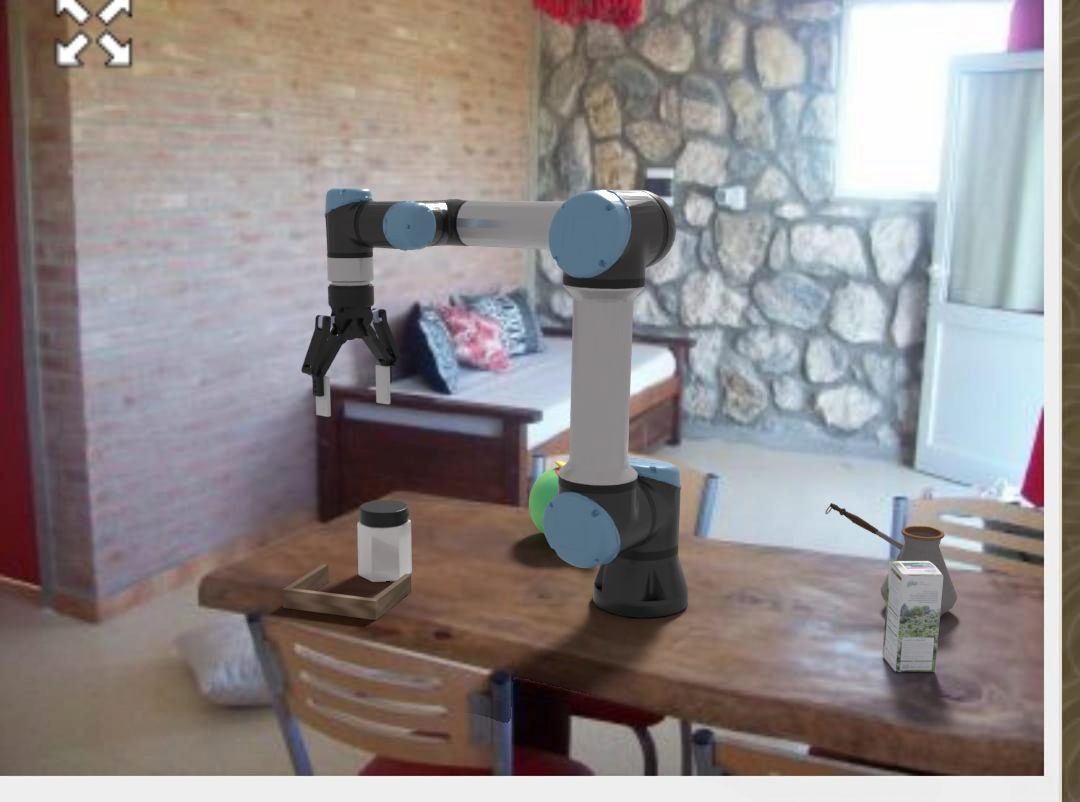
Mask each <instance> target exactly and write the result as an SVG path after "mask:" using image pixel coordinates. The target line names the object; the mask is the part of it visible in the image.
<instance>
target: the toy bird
mask: <svg viewBox="0 0 1080 802" xmlns="http://www.w3.org/2000/svg"><path fill="white" fill-rule="evenodd" d="M554 463H555V464H556V466H553V467H552V468H549V469H546V470H545V471H544V472H543V473H541V475H539V476H538V478H537V479H536V480H535V482H534V483H533V485H532V488H531V490H530V493H529V498H528V511H529V515H530V518H531V520H532V522H533V524H534V526H535V527H536V528H537V529H538V530H539V531H540V532H541V533H542V534H544V535H545V533H544V529H543V514H544V510H545V508H546V506H547V504H548V503H549V502H550V501H551V500H552V498H553V497H554V496H556V495H558V473H559V470H560V468H561V467H563V466H564V465H565V464H566V463H567V462H566V461H562V460H555V461H554Z"/></svg>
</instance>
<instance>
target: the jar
mask: <svg viewBox="0 0 1080 802" xmlns="http://www.w3.org/2000/svg"><path fill="white" fill-rule="evenodd" d="M409 511H410V510H409V505H408V504H407V503H406V502H404V501H400V500H394V499H379V500H372V501H367V502H364V503H361V505H360V506H359V521H358V522H357V525H356V529H357V561H358V562H357V564H358V567H357V569H358V576H360V578H361V577H362V578H364V579H366V580H367V581H370V582H372V583H383V582H384V583H386V581H390V582H395V581H396V580H398V579H399V578H400V577H402V576H403V575H404V574H412V573H413V572H412V571H413V567H412V565H413V564H412V563H413V562H412V560H413V559H412V557H413V556H412V521H411V519H409V516H410V514H409V513H410V512H409Z"/></svg>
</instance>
